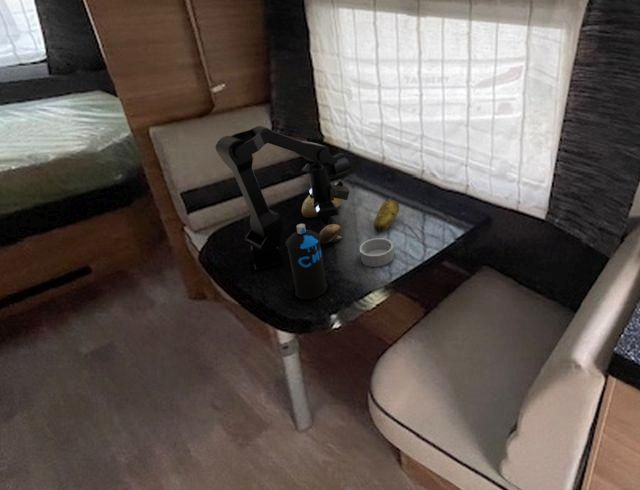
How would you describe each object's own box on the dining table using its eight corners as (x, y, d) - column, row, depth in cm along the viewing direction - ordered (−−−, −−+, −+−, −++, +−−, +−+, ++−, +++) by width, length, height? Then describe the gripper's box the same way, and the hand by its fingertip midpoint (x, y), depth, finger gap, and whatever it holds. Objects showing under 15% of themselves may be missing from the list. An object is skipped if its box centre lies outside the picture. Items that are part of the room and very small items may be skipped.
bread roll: (348, 208, 157) (346, 189, 154) (311, 223, 146) (308, 203, 143) (333, 201, 162) (330, 182, 159) (297, 215, 151) (293, 195, 148)
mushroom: (351, 231, 135) (337, 218, 133) (333, 250, 130) (319, 236, 128) (341, 233, 141) (328, 220, 139) (324, 251, 136) (311, 238, 134)
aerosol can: (288, 292, 112) (275, 227, 104) (314, 276, 118) (303, 214, 111) (308, 303, 108) (296, 237, 100) (334, 286, 114) (324, 223, 107)
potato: (364, 230, 142) (362, 209, 139) (390, 215, 153) (388, 195, 150) (382, 237, 139) (380, 215, 135) (407, 221, 149) (406, 201, 146)
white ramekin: (365, 270, 121) (364, 259, 120) (357, 253, 129) (356, 242, 128) (398, 262, 126) (397, 250, 124) (388, 245, 134) (388, 235, 132)
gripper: (352, 187, 130) (356, 231, 136) (340, 167, 145) (344, 207, 151) (314, 194, 125) (321, 239, 131) (306, 172, 140) (312, 214, 146)
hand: (326, 223), depth 140 cm, fingers closed
